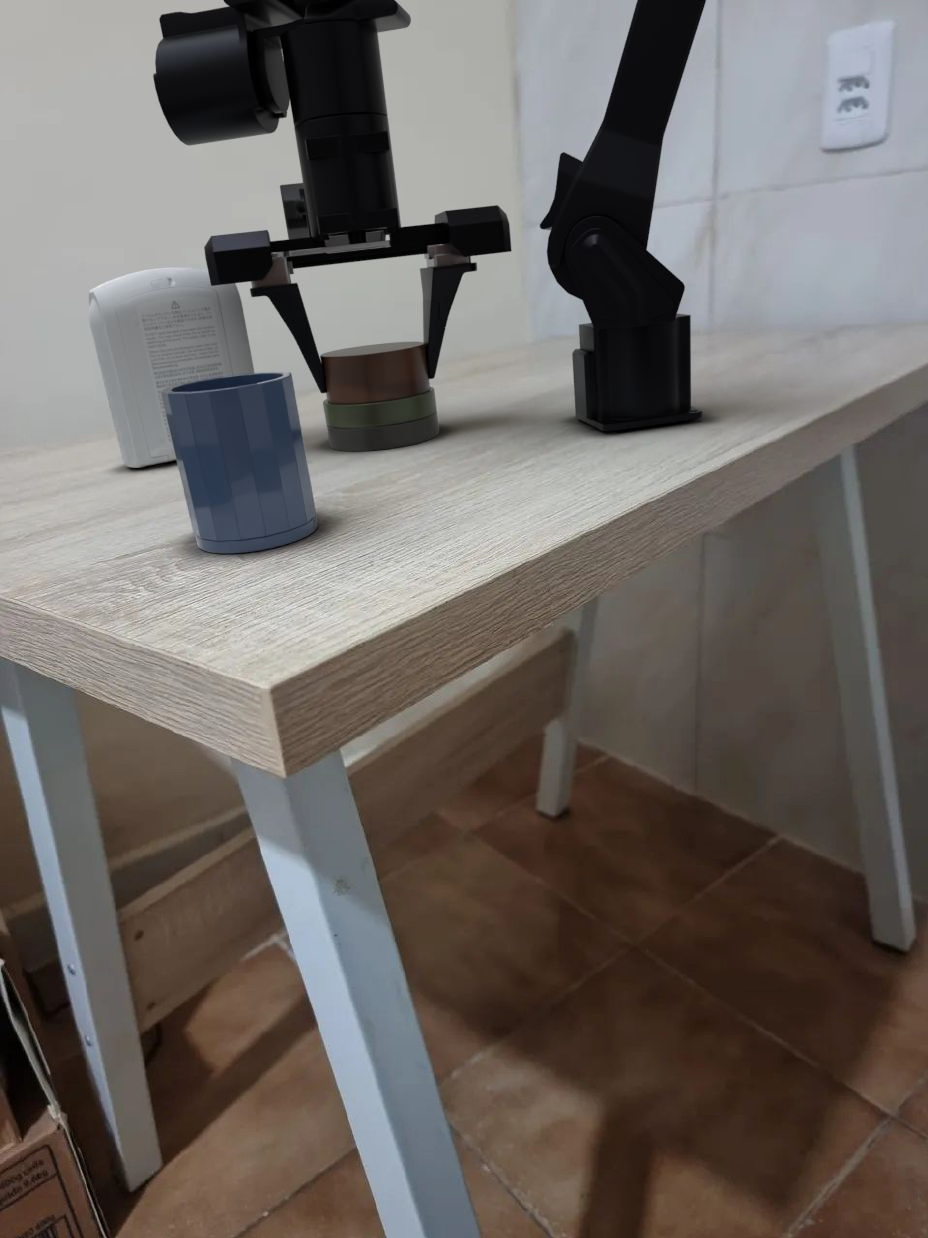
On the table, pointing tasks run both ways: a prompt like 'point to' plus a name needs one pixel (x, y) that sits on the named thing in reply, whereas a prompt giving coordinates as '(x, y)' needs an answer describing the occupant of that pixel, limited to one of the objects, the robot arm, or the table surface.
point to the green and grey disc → (382, 423)
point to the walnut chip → (375, 372)
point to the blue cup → (242, 461)
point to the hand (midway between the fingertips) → (378, 385)
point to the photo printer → (162, 348)
